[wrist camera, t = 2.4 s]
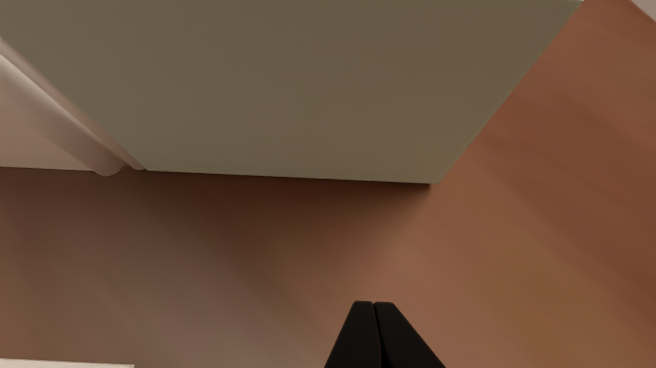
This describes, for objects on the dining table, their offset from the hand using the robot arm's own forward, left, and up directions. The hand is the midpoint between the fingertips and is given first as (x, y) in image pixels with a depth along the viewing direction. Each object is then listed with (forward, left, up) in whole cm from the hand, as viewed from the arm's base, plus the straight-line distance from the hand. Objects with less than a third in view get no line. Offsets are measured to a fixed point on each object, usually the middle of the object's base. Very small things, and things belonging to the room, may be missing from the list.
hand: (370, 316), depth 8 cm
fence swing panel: (+8, +4, -10) cm, 13 cm away
